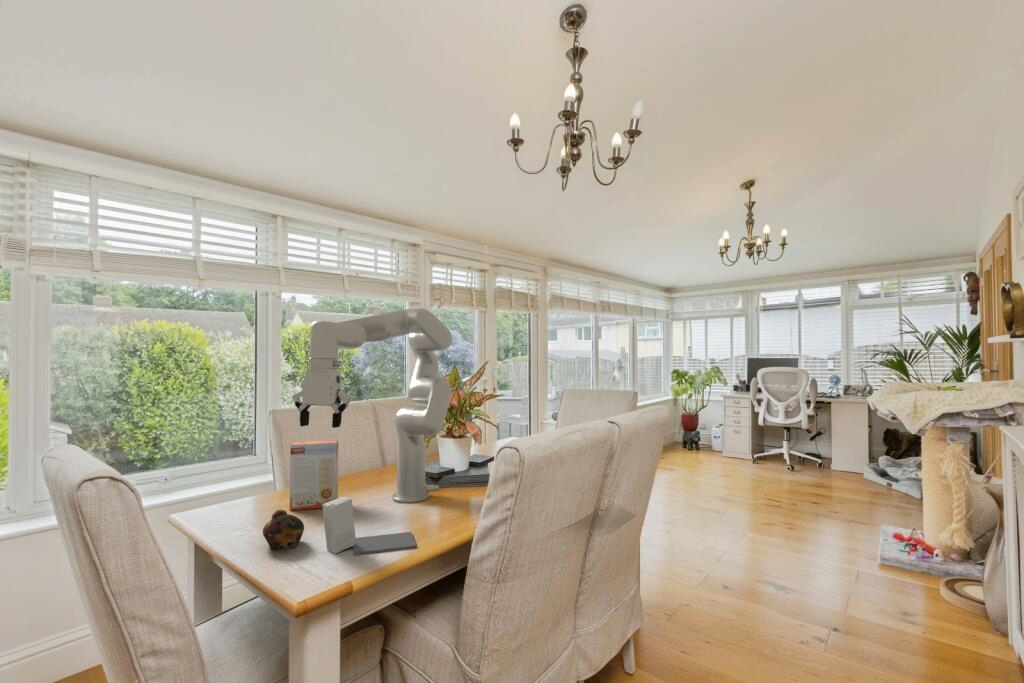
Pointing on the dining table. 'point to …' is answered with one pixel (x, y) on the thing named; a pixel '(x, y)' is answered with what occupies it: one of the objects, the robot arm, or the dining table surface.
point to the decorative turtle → (283, 530)
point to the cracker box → (313, 474)
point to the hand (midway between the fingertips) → (320, 426)
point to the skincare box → (339, 524)
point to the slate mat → (384, 543)
